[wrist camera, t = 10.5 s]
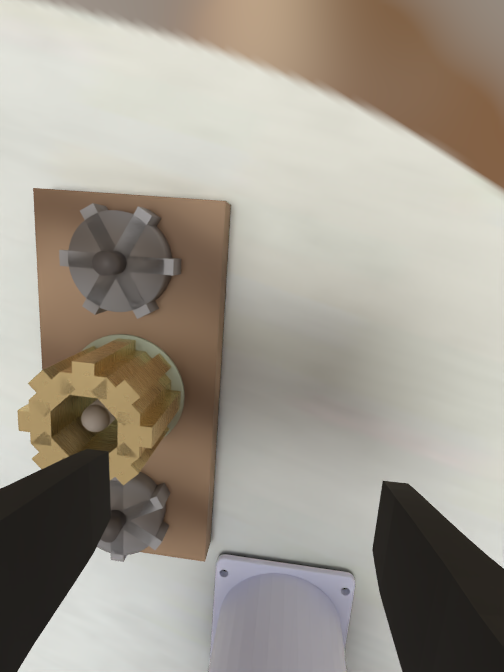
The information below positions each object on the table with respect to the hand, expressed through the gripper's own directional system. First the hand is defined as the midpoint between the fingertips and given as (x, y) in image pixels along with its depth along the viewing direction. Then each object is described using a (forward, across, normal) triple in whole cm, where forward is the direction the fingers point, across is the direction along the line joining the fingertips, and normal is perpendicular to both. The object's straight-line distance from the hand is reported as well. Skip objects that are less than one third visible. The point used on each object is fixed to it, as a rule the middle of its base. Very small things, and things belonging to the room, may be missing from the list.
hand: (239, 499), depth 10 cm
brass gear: (+9, +7, +1) cm, 11 cm away
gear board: (+10, +7, +1) cm, 13 cm away
